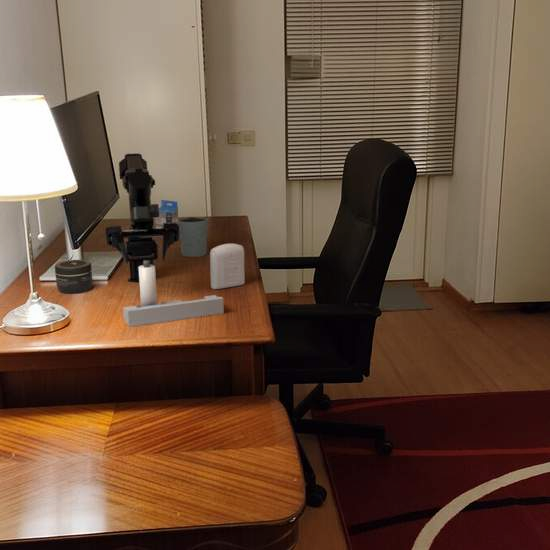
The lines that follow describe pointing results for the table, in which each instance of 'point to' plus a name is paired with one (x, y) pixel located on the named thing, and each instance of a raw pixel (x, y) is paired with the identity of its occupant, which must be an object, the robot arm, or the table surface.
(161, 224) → the label tape box
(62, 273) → the jar
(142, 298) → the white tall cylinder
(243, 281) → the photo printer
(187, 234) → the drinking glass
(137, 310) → the cable duct
